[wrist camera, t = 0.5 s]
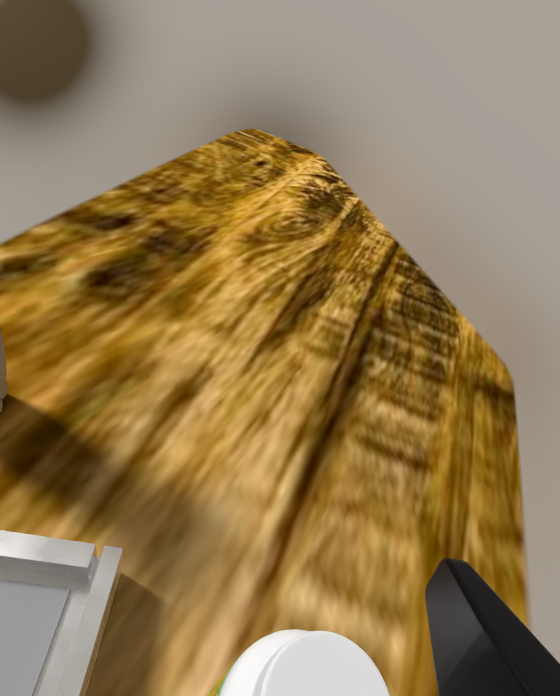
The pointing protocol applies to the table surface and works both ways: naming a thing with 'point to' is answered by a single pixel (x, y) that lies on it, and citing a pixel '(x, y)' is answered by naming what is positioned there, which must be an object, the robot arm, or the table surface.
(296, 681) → the supplement bottle
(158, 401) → the table surface
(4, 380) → the handle
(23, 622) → the grey tray
